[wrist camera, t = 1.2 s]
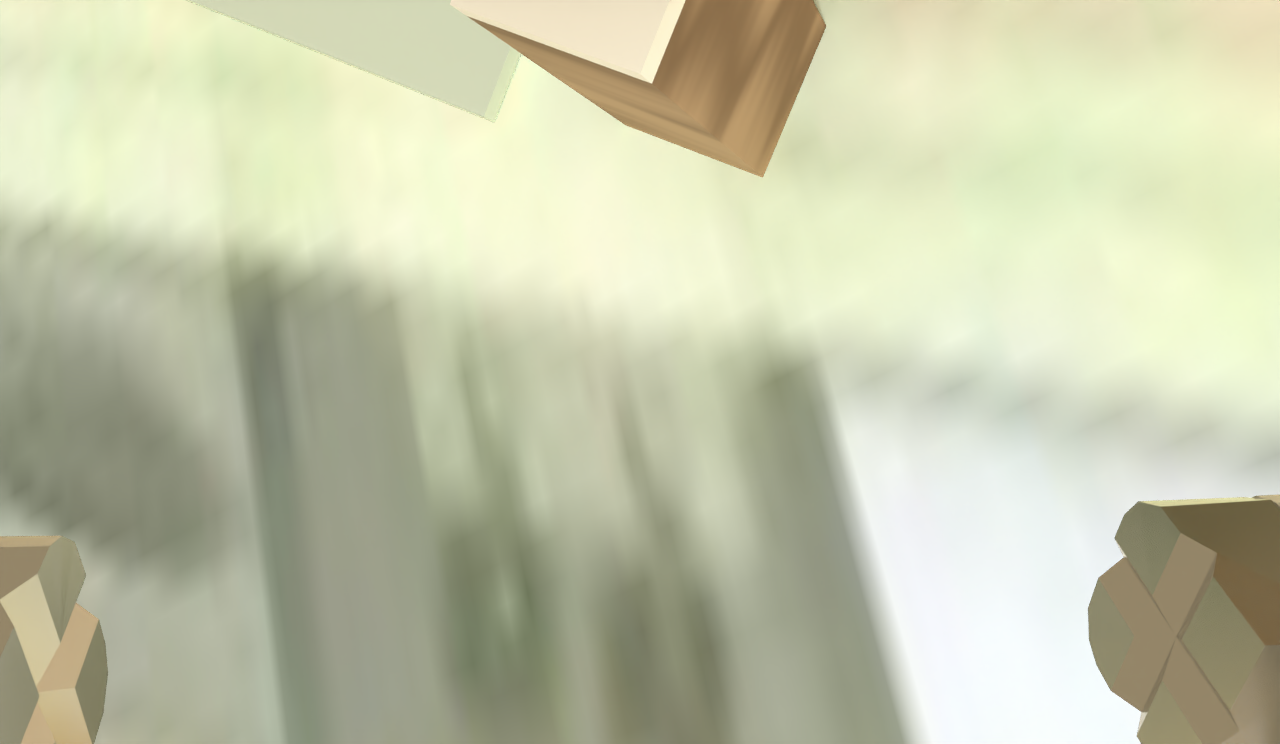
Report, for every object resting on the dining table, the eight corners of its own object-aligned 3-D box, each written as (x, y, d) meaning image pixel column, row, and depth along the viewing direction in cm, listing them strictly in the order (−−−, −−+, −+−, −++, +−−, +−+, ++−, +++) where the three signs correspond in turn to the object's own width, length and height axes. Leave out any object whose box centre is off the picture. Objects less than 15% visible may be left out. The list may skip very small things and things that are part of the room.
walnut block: (684, -22, 37) (530, -210, 25) (826, 26, 35) (731, -152, 24) (625, 125, 37) (449, 4, 26) (762, 177, 36) (640, 73, 24)
